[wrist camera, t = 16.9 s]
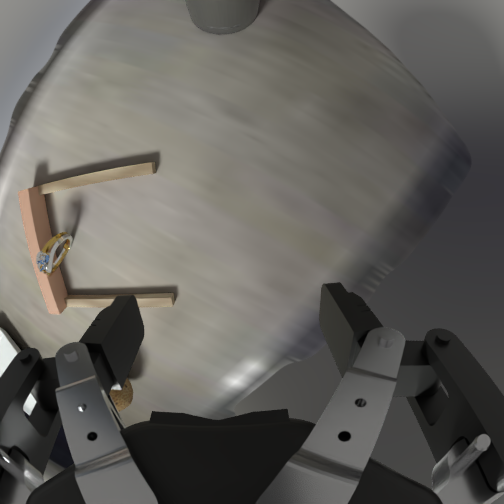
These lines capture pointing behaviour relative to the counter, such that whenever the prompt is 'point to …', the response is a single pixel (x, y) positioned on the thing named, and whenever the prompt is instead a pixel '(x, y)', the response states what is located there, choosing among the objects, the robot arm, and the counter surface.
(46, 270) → the ring
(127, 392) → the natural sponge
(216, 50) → the counter surface
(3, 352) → the square plate
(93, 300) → the birch track
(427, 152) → the counter surface
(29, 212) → the bar
